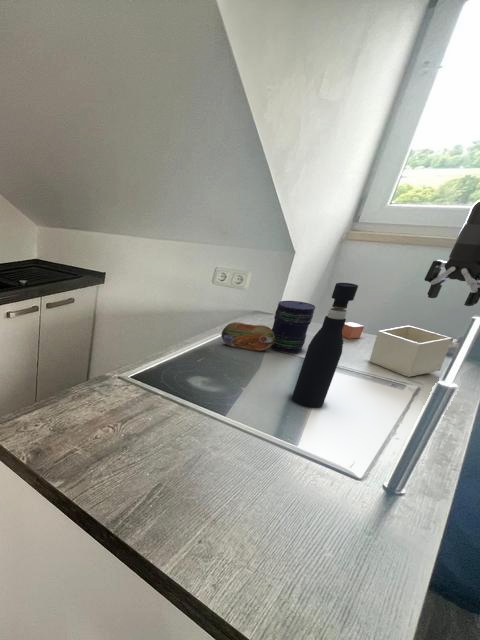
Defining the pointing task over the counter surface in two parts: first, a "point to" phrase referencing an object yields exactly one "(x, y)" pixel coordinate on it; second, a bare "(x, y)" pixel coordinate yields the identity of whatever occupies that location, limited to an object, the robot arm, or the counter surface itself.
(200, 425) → the counter surface
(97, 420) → the counter surface
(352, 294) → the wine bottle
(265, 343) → the tin
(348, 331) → the block
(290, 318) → the storage jar
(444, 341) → the bin
